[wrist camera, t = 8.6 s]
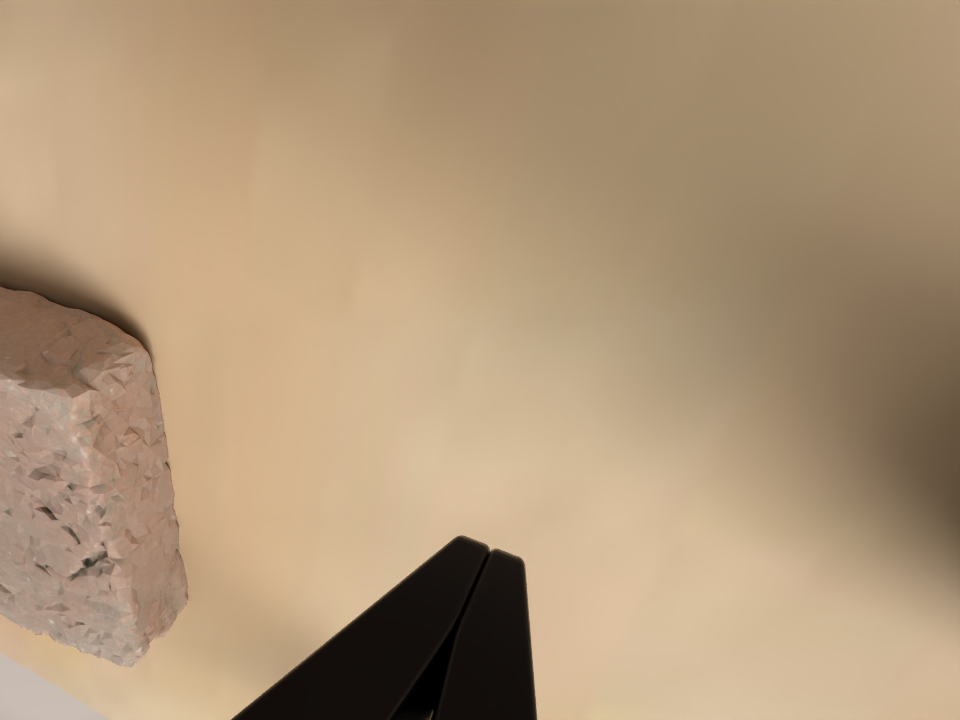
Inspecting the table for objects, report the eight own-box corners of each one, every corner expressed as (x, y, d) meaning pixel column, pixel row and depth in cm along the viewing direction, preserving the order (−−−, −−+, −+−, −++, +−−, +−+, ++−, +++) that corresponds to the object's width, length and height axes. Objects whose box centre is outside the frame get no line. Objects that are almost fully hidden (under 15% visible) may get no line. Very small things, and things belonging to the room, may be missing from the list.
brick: (198, 607, 36) (131, 690, 32) (56, 549, 37) (-25, 622, 33) (165, 321, 26) (64, 391, 22) (-24, 260, 28) (-148, 315, 24)
